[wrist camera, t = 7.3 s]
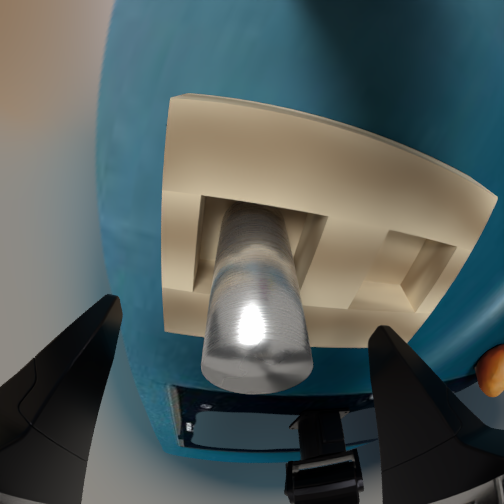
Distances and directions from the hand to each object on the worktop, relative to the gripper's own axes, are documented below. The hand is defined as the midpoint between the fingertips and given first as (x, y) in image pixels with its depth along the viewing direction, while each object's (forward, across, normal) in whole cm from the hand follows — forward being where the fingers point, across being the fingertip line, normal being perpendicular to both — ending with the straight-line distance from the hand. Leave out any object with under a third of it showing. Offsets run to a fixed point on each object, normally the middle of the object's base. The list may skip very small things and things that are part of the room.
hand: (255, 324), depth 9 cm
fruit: (+7, -39, +14) cm, 42 cm away
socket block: (+7, -4, 0) cm, 8 cm away
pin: (+6, 0, 0) cm, 6 cm away
